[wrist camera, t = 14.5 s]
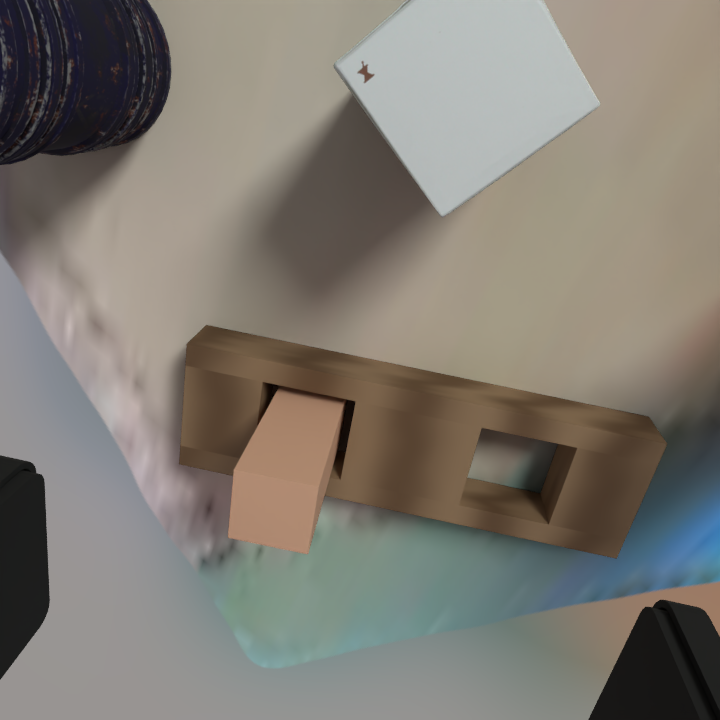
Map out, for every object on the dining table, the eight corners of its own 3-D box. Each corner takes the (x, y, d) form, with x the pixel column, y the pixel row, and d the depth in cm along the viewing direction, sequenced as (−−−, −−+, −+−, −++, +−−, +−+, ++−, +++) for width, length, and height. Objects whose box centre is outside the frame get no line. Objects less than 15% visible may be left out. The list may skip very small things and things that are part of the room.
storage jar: (16, -68, 33) (-273, -184, 20) (188, -8, 34) (18, -81, 20) (4, 118, 37) (-244, 129, 24) (157, 171, 38) (-2, 212, 24)
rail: (648, 416, 40) (667, 444, 37) (603, 525, 44) (616, 558, 41) (206, 325, 41) (186, 343, 38) (197, 438, 45) (179, 464, 42)
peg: (349, 385, 42) (318, 486, 31) (340, 440, 44) (308, 554, 33) (286, 373, 42) (233, 469, 31) (279, 428, 44) (227, 537, 33)
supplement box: (436, 185, 36) (436, 225, 25) (362, 74, 34) (324, 61, 23) (548, 105, 34) (607, 108, 22) (476, -19, 32) (498, -87, 20)
